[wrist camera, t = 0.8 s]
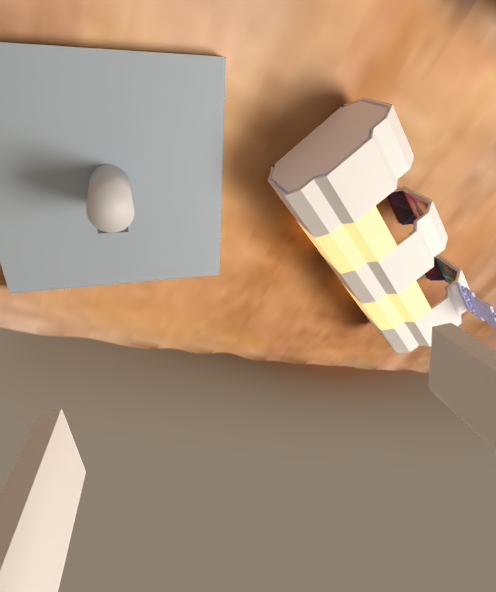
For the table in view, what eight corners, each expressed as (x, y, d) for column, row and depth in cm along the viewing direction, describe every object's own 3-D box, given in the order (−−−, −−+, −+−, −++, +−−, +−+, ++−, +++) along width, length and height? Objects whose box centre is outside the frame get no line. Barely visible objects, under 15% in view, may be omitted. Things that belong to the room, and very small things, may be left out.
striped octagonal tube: (436, 271, 49) (526, 335, 39) (369, 322, 51) (438, 398, 40) (352, 94, 34) (460, 121, 24) (260, 174, 36) (324, 232, 25)
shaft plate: (-61, 37, 25) (-111, 39, 19) (221, 56, 30) (250, 61, 24) (12, 286, 34) (-7, 337, 29) (216, 268, 39) (235, 309, 34)
